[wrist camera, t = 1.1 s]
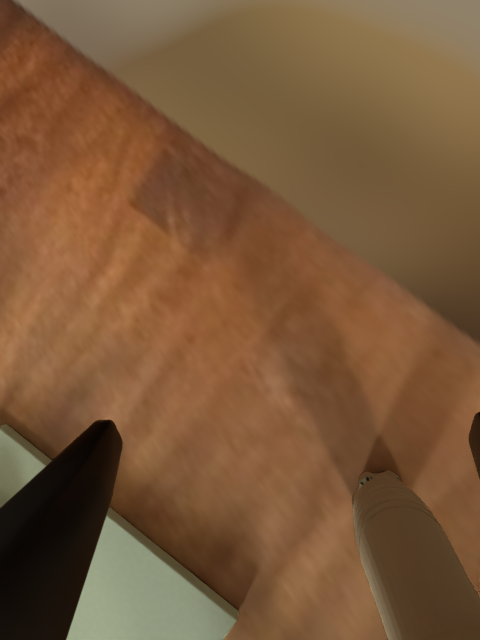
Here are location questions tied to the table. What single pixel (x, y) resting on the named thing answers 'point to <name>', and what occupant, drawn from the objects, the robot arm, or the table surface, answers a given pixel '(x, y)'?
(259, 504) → the table surface
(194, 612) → the mat
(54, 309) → the table surface
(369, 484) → the handle
